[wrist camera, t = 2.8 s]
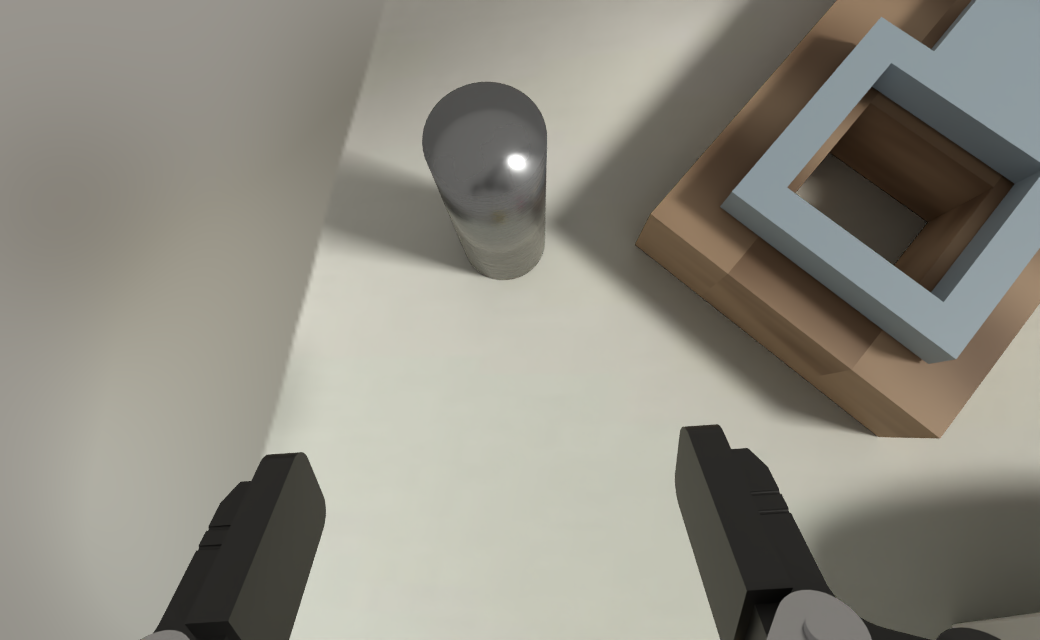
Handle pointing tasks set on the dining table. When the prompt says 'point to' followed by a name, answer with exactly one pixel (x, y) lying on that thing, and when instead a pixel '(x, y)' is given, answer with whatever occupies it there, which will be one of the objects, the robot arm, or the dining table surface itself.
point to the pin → (491, 174)
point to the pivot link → (955, 114)
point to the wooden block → (800, 297)
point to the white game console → (1008, 627)
